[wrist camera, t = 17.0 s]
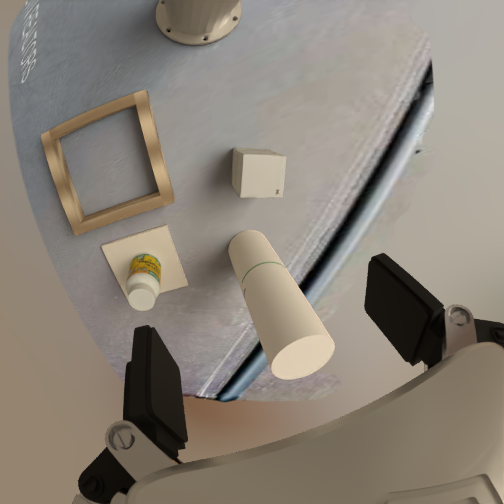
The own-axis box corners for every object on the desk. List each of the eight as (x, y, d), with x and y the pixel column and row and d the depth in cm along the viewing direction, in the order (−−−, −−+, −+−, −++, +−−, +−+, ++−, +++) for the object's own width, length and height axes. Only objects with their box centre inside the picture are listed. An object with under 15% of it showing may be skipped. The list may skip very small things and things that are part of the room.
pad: (102, 244, 41) (101, 246, 40) (166, 224, 42) (166, 225, 42) (129, 299, 47) (128, 301, 46) (188, 283, 48) (188, 285, 48)
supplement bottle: (126, 271, 43) (118, 307, 35) (137, 246, 42) (129, 279, 34) (154, 282, 46) (151, 319, 38) (166, 258, 44) (165, 293, 36)
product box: (271, 149, 40) (288, 156, 34) (267, 185, 43) (283, 199, 37) (232, 147, 39) (242, 153, 33) (230, 185, 42) (239, 199, 35)
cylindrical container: (227, 267, 49) (267, 384, 27) (228, 230, 45) (276, 341, 24) (266, 265, 50) (325, 371, 29) (270, 229, 47) (342, 329, 26)
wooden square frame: (48, 133, 30) (40, 135, 27) (147, 91, 32) (144, 89, 29) (81, 228, 38) (75, 236, 36) (174, 196, 40) (174, 202, 38)
